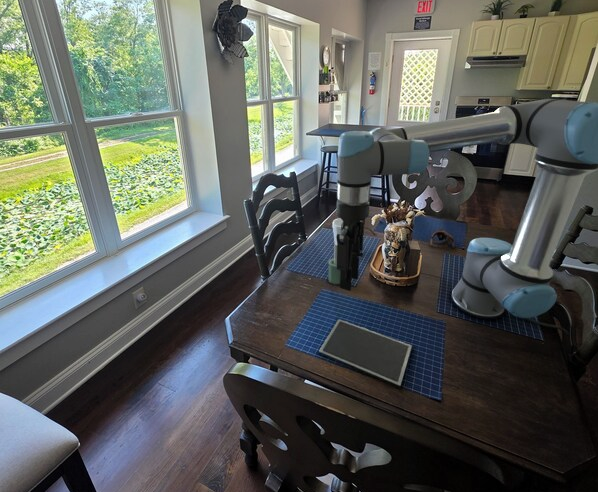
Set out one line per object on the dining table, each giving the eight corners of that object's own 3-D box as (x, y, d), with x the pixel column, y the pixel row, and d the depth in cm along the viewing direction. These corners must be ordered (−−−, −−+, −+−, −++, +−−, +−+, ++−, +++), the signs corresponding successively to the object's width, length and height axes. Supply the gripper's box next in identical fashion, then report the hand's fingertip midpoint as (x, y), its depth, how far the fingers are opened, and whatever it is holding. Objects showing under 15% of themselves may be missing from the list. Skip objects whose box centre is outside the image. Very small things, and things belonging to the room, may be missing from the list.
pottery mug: (459, 253, 136) (454, 240, 131) (436, 259, 139) (431, 247, 135) (450, 233, 145) (445, 221, 141) (429, 240, 148) (424, 228, 144)
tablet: (411, 348, 89) (412, 344, 89) (400, 388, 78) (400, 385, 78) (338, 321, 99) (338, 318, 99) (318, 353, 88) (318, 350, 88)
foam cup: (357, 247, 140) (358, 221, 135) (348, 257, 133) (349, 229, 128) (337, 242, 145) (338, 216, 140) (328, 251, 138) (328, 224, 133)
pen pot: (345, 278, 120) (346, 260, 116) (339, 286, 115) (340, 267, 112) (331, 274, 122) (332, 256, 119) (325, 282, 118) (326, 263, 115)
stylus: (338, 278, 119) (340, 243, 113) (337, 281, 117) (338, 245, 111) (334, 277, 120) (335, 242, 114) (332, 280, 118) (333, 244, 112)
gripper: (351, 186, 83) (347, 262, 92) (322, 210, 69) (321, 298, 78) (379, 190, 80) (373, 269, 89) (355, 217, 65) (350, 308, 75)
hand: (349, 283), depth 83 cm, fingers open, 5 cm apart
